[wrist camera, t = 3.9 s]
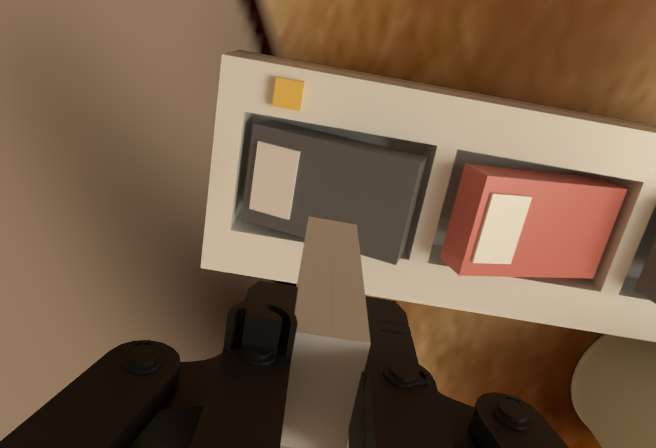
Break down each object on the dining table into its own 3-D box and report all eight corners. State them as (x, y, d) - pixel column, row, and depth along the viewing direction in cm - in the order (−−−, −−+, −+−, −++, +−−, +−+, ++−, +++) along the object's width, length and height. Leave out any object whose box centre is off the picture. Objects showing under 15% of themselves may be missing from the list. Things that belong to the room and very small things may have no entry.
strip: (219, 234, 30) (198, 271, 25) (240, 49, 26) (219, 54, 22) (854, 339, 32) (943, 392, 27) (951, 179, 28) (1071, 209, 24)
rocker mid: (439, 257, 25) (460, 277, 23) (465, 163, 23) (489, 176, 22) (567, 262, 28) (595, 279, 26) (598, 177, 26) (630, 190, 24)
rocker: (257, 209, 27) (239, 220, 25) (269, 119, 25) (251, 123, 23) (403, 251, 25) (395, 266, 23) (426, 156, 23) (419, 164, 22)
